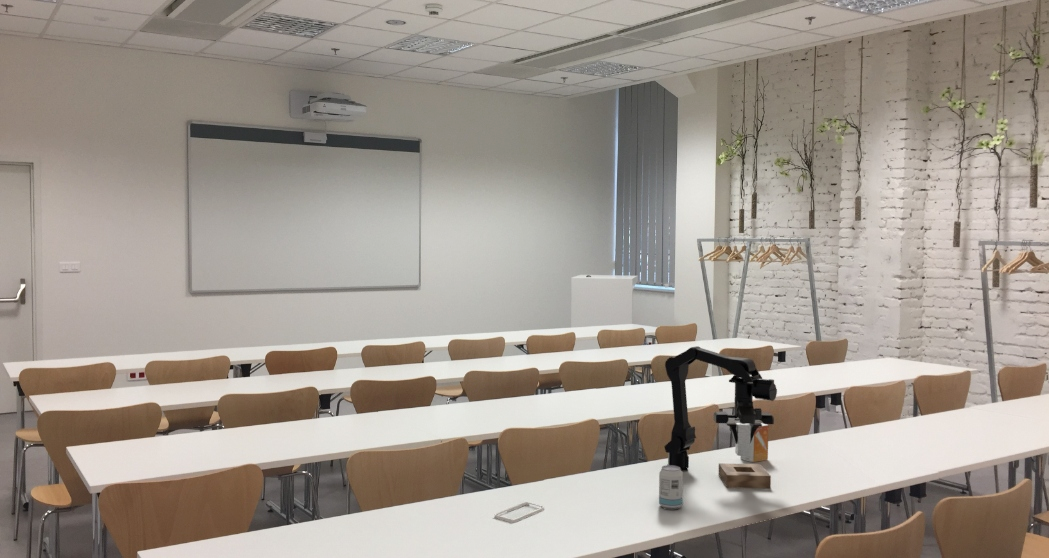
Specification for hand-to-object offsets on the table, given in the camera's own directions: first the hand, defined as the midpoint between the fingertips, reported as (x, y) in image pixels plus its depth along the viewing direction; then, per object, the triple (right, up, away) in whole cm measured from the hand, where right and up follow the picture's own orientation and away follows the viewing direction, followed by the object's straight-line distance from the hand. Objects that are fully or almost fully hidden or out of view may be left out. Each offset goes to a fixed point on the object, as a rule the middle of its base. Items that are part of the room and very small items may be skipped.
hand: (742, 443), depth 269 cm
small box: (+12, -12, +29) cm, 34 cm away
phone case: (-74, -15, -31) cm, 81 cm away
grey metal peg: (0, -4, 0) cm, 4 cm away
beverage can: (-28, -14, -25) cm, 41 cm away
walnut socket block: (+1, -13, +2) cm, 13 cm away
